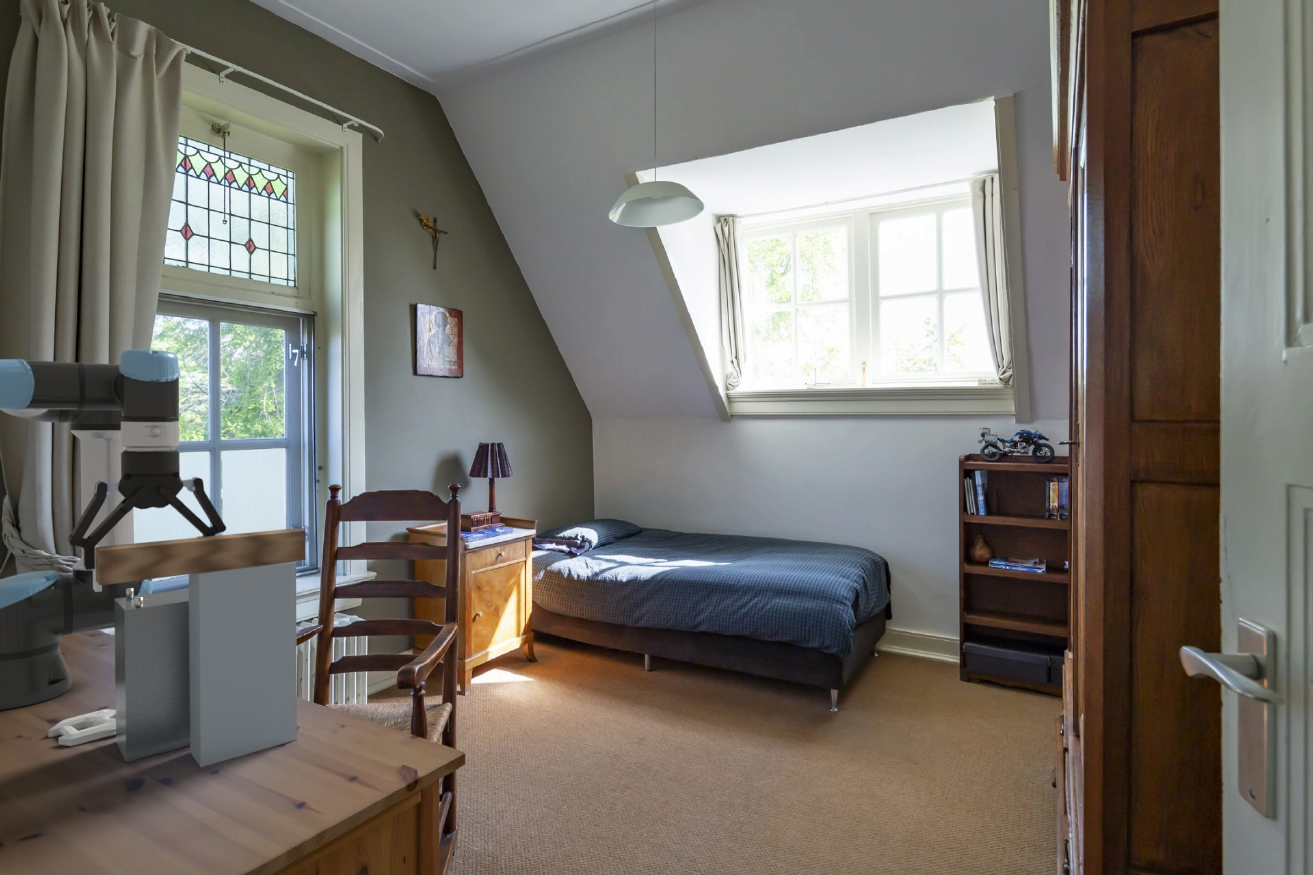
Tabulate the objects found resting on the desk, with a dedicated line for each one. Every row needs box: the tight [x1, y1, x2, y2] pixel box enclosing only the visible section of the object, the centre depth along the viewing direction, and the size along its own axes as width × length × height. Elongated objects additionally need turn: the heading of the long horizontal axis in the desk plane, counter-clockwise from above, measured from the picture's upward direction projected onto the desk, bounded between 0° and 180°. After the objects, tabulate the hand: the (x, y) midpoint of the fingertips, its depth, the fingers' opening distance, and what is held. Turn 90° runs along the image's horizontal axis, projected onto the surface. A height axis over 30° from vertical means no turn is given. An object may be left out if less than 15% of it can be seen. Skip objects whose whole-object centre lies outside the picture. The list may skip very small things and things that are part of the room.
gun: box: [47, 708, 116, 747], centre depth 126 cm, size 18×4×10 cm
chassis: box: [114, 588, 190, 763], centre depth 122 cm, size 10×16×26 cm, turn 134°
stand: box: [188, 561, 298, 768], centre depth 118 cm, size 7×14×30 cm, turn 134°
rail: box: [96, 527, 306, 585], centre depth 114 cm, size 28×4×5 cm, turn 134°
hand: (151, 583), depth 113 cm, fingers open, 13 cm apart
